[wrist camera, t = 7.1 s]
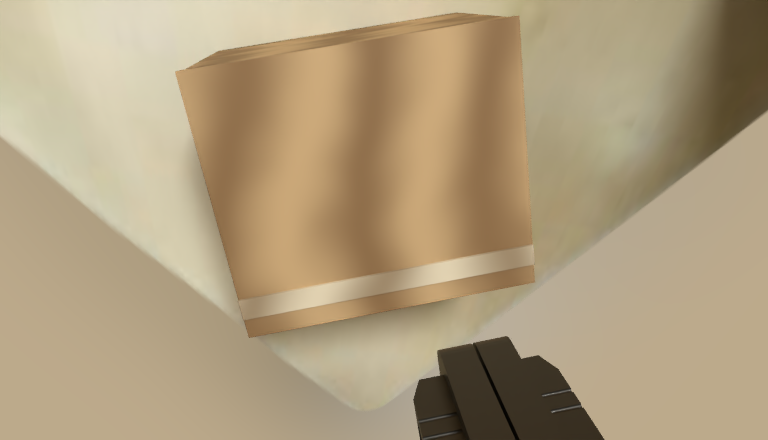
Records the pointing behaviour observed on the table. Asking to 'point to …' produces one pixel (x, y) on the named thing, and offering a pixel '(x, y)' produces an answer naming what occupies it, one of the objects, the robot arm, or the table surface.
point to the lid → (367, 172)
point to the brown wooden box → (341, 38)
